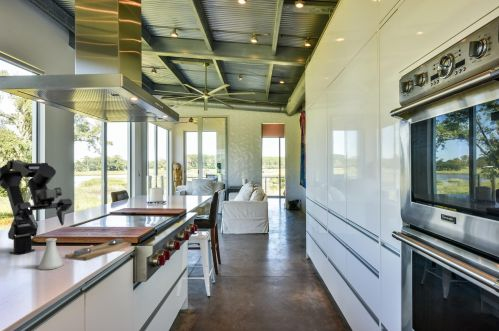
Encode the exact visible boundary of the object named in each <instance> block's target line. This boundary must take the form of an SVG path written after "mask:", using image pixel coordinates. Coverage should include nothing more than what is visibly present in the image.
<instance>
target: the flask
mask: <svg viewBox="0 0 499 331" xmlns="http://www.w3.org/2000/svg"><path fill="white" fill-rule="evenodd" d="M44 242H46V246H45V251H44V252H43V255H42V258H41V261H40V263H39V265H38V267H37V268H38V269H39V270H42V271H43V270H46V271H47V270H54V269H59V268H61V267H62V266H64V262H63V260H62V257H61V256H60V253H59V250H58V248H57V244H56V242H57V238H55V237H50V238H46V239H45V241H44Z"/></svg>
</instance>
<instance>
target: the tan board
mask: <svg viewBox="0 0 499 331" xmlns="http://www.w3.org/2000/svg"><path fill="white" fill-rule="evenodd" d="M131 246H132V243H131V242H126V241H123V243H120V244H117V245H109V241H108V242H104V243H100V244H97V245H93V246H90V247H89V248H91V253H88V254H85V255H81V256H75V255H74V251H73V252H70V253H67V254H65V255H64V257H65V259H72V260H81V261H89V260H92V259H96V258H98V257H101V256H103V255H104V256H105V255H107V254H110V253H113V252H116V251H118V250H119V251H120V250H122V249H126V248H128V247H131Z"/></svg>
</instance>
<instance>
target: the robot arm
mask: <svg viewBox="0 0 499 331" xmlns="http://www.w3.org/2000/svg"><path fill="white" fill-rule="evenodd" d="M56 172H57V171H56V169H55V168H54V167H53V166H51V165H49V164H48V162H25V161H23V160H18V159H17V160H16V159H15V160H14V159H13V160H12V159H11V160H7V162H6V164H5V165H3V166H1V167H0V187H1V188H3V189H4V190H6V194H7V197H8V201H9V203H10V204H9V205H10V208H11V212H12V215H13V220H12V222H11V225H10V228H9V230H8V232H7V237H8V239H9V240H13V250H12V251H9V254H14V255H23V254H27V253H30V252H35V251H36V249H33V248H32V247H33V245H32V244H33V243H32V237H37V232H38V226H39V225H38V222H37V220H36V219H35V215H34V211H39V210H49V209H55V210H56V216H57V218H58V221H59V224H60V225H61V226H64V224H65V217H66V216H65V215H66V211H68V210H69V209H70V208H71V206H72V205H73V201H72V199H70V198H61V199H59V200H58V201H57V202H54V201H55V199H58V198H59V197H61V196H62V195H63V190H62V188H61V187H55V188H53V189H50V188H48V186H47V185H49V183H50V182H51V181H52V180H53V178H54V177H55V175H56V174H57V173H56ZM23 177H24V178H30V179H29V180H28V181H27V184H26V187H27V188H28V189H29V192H30V195H31V196H30V198H29V199H30V200H32V202H33V204H31V202H29V201H26V202H25V201H24V197H23V195H22V191H21V188H20V184H21V182H22V179H23ZM53 202H54V203H53Z"/></svg>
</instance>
